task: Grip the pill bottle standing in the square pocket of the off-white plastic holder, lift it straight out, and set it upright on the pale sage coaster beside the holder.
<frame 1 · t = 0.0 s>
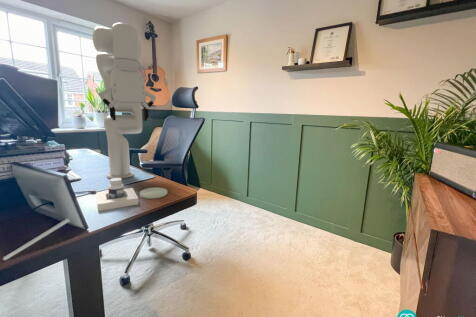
hand: (130, 120, 78), 31 cm above the table, tool pointing down, fingers open, 9 cm apart
coaster: (153, 194, 97), on the table
pill bottle: (117, 202, 88), resting in pocket holder
pocket holder: (117, 201, 88), on the table
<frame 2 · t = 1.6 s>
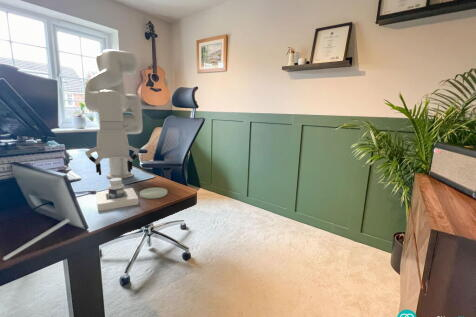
hand: (115, 172, 85), 11 cm above the table, tool pointing down, fingers open, 9 cm apart
nothing on the table moved.
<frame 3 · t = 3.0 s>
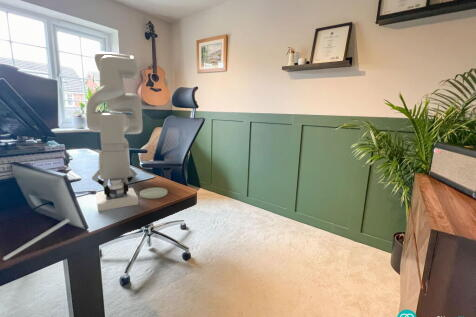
hand: (116, 194, 87), 3 cm above the table, tool pointing down, fingers closed on pill bottle, 5 cm apart
pill bottle: (117, 201, 88), resting in pocket holder, touching gripper
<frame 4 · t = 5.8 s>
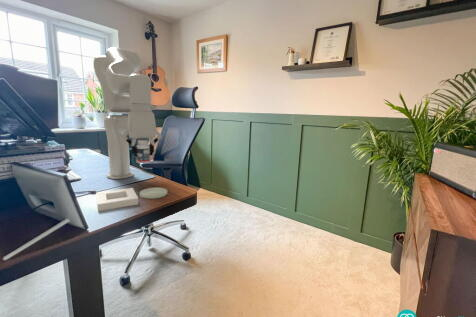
hand: (143, 154, 91), 17 cm above the table, tool pointing down, fingers closed on pill bottle, 5 cm apart
pill bottle: (143, 162, 92), point 14 cm above the table, touching gripper
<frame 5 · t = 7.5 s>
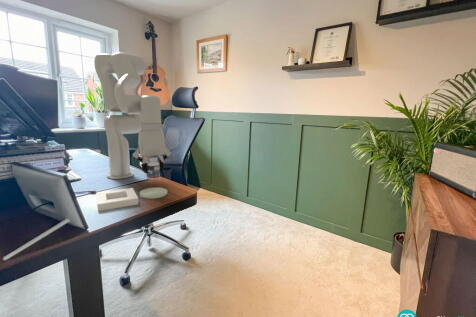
hand: (153, 171, 95), 10 cm above the table, tool pointing down, fingers closed on pill bottle, 5 cm apart
pill bottle: (153, 178, 95), point 7 cm above the table, touching gripper
when the fingers open (5 cm above the table, at t = 8.8 s): pill bottle drops 1 cm, resting on coaster.
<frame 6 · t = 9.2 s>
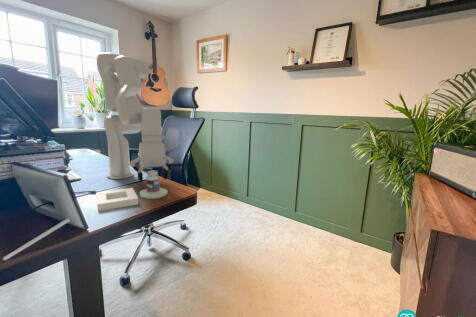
hand: (153, 180, 96), 6 cm above the table, tool pointing down, fingers open, 9 cm apart
pill bottle: (153, 192, 97), point 1 cm above the table, touching coaster
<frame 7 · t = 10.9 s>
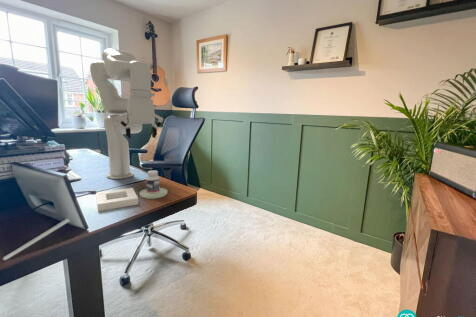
hand: (141, 137, 95), 23 cm above the table, tool pointing down, fingers open, 9 cm apart
nothing on the table moved.
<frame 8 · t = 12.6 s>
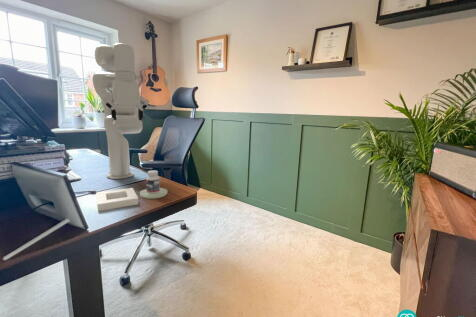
hand: (127, 120, 96), 30 cm above the table, tool pointing down, fingers open, 9 cm apart
nothing on the table moved.
at the end: pill bottle 0.3 cm off-centre on the coaster, point 0.8 cm above the coaster's base; pill bottle tilted 0°; the gripper is holding nothing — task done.
